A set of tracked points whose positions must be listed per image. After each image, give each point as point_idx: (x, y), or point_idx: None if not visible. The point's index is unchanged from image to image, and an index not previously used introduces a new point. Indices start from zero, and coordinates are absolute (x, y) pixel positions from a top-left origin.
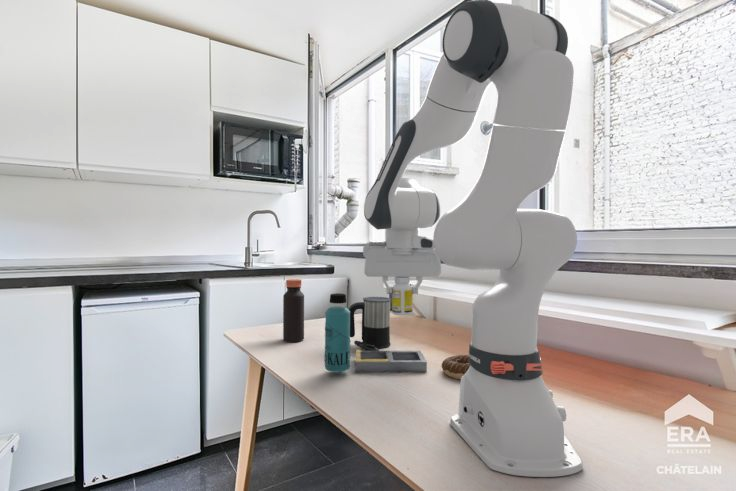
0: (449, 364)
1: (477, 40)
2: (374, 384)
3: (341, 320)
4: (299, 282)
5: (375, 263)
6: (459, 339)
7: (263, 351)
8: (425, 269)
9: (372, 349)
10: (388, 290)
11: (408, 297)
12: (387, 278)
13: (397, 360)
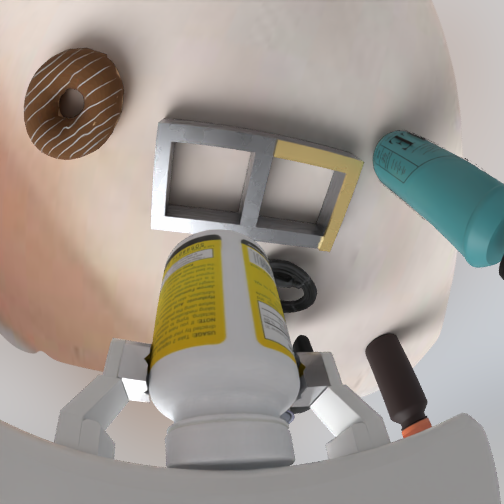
0: (104, 78)
1: None
2: (331, 62)
3: (491, 177)
4: (413, 433)
5: (465, 494)
6: (62, 327)
7: (439, 295)
8: (13, 488)
9: (278, 266)
10: (327, 367)
11: (189, 301)
12: (359, 439)
13: (244, 148)
